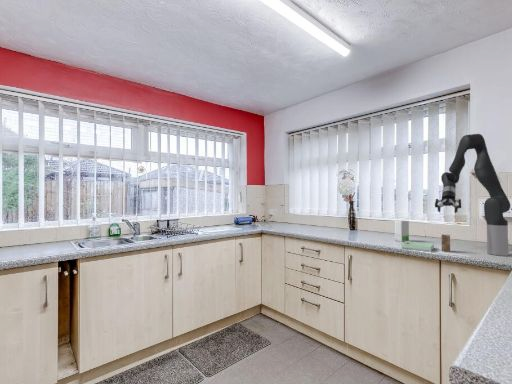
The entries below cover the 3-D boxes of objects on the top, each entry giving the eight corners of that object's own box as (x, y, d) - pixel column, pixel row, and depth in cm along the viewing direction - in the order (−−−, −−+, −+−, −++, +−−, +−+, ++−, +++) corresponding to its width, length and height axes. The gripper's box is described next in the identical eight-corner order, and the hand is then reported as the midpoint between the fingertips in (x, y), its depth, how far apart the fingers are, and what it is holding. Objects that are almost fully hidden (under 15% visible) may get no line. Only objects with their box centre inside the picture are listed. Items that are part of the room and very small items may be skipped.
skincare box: (401, 242, 202) (401, 221, 202) (394, 240, 208) (393, 220, 209) (409, 241, 205) (409, 220, 206) (401, 240, 211) (401, 220, 212)
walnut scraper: (450, 251, 168) (450, 235, 168) (449, 252, 165) (449, 235, 165) (442, 250, 170) (442, 234, 171) (441, 251, 167) (441, 235, 168)
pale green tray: (434, 248, 177) (433, 243, 177) (430, 251, 166) (430, 246, 166) (406, 245, 187) (406, 241, 187) (401, 248, 177) (401, 243, 177)
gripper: (435, 190, 188) (433, 207, 179) (461, 190, 179) (460, 208, 170) (436, 197, 192) (434, 214, 183) (462, 198, 183) (461, 216, 174)
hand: (447, 211), depth 177 cm, fingers open, 8 cm apart
